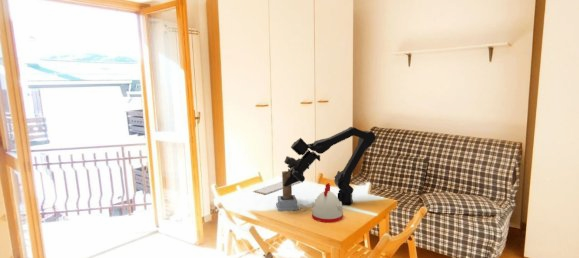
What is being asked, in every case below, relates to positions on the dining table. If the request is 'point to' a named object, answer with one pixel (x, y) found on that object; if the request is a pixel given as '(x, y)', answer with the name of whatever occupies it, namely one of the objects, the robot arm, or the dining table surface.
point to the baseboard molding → (272, 188)
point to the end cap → (287, 204)
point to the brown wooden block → (288, 189)
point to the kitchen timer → (327, 207)
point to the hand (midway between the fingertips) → (284, 185)
